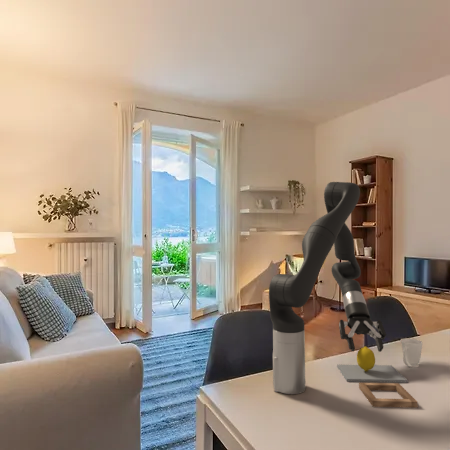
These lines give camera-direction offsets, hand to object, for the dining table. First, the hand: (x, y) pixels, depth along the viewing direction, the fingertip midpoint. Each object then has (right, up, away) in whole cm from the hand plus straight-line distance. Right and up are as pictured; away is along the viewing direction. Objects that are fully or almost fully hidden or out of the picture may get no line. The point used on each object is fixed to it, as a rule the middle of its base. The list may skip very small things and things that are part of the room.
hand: (367, 350), depth 114 cm
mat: (+1, -8, 0) cm, 8 cm away
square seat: (-1, -7, -16) cm, 18 cm away
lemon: (0, -7, 0) cm, 7 cm away
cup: (+18, -8, +7) cm, 21 cm away
